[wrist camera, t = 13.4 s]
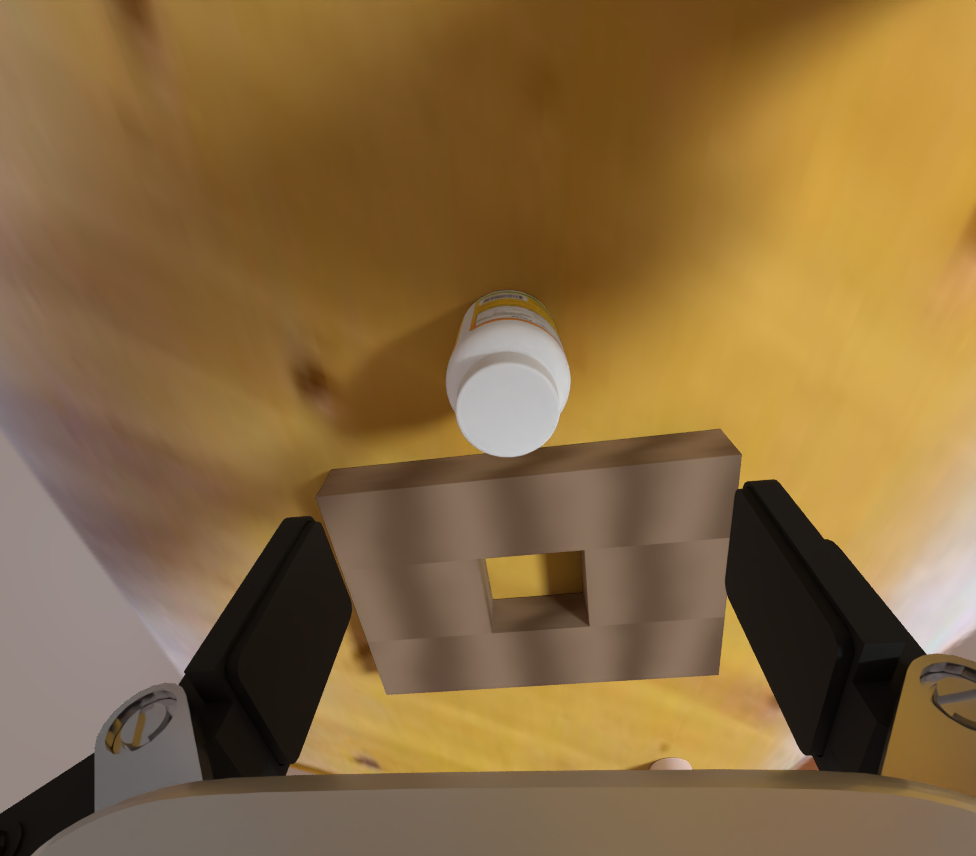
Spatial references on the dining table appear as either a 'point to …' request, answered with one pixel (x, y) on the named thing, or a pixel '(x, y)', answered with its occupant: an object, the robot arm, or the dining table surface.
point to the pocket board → (537, 530)
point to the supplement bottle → (507, 374)
